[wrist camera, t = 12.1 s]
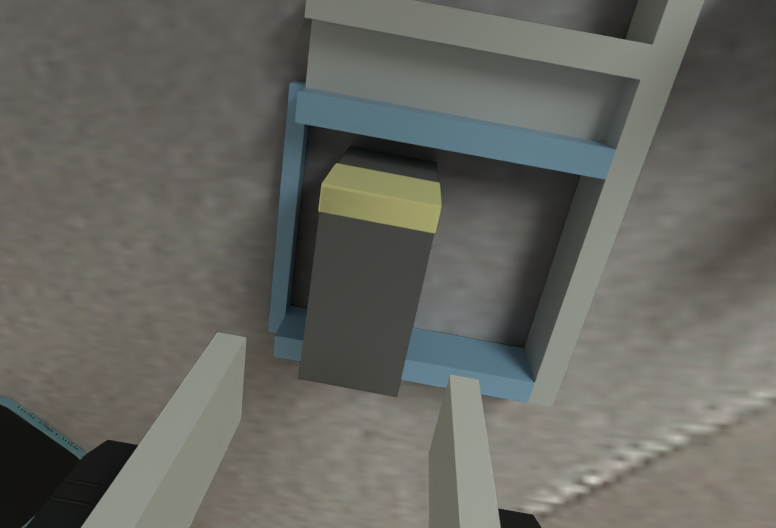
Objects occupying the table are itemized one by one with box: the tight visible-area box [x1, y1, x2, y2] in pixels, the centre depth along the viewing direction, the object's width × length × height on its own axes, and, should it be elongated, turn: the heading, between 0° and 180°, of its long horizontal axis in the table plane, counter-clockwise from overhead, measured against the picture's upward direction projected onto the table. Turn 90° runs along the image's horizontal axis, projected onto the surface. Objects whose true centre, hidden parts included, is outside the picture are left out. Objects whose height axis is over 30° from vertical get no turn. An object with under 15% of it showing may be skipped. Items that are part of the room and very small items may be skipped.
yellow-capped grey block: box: [298, 146, 442, 397], centre depth 23 cm, size 8×4×7 cm, turn 170°
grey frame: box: [268, 0, 705, 407], centre depth 21 cm, size 27×14×3 cm, turn 170°
